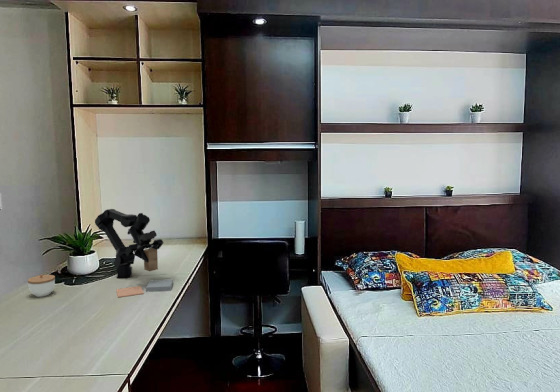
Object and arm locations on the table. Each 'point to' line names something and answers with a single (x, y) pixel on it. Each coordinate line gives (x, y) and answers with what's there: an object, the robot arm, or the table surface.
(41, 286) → the lidded jar
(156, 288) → the grey ledge
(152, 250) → the walnut block
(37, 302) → the table surface
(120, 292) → the terracotta mat
